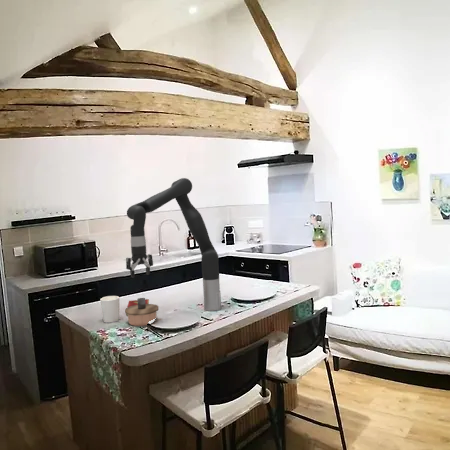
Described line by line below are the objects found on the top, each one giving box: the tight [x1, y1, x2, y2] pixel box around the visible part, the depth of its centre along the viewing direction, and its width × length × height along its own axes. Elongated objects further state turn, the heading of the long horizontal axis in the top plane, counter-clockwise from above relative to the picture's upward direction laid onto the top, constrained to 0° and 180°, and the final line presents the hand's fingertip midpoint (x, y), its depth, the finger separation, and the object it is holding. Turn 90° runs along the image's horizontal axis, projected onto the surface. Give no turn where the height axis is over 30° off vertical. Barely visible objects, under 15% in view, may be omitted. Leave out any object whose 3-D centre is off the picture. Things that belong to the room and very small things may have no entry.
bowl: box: [127, 312, 157, 327], centre depth 230 cm, size 14×14×6 cm
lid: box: [124, 297, 160, 315], centre depth 230 cm, size 17×17×6 cm
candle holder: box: [99, 295, 120, 324], centre depth 235 cm, size 10×10×12 cm
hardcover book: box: [125, 298, 150, 317], centre depth 253 cm, size 12×21×4 cm, turn 8°
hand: (140, 276), depth 229 cm, fingers open, 8 cm apart
